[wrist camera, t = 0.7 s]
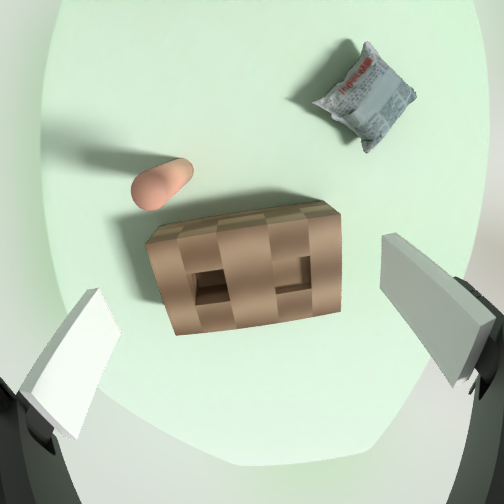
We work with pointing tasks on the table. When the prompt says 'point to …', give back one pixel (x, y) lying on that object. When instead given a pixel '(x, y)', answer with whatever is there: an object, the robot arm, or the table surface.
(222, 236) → the bore block
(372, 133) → the packaged food
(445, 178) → the table surface
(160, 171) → the dowel
